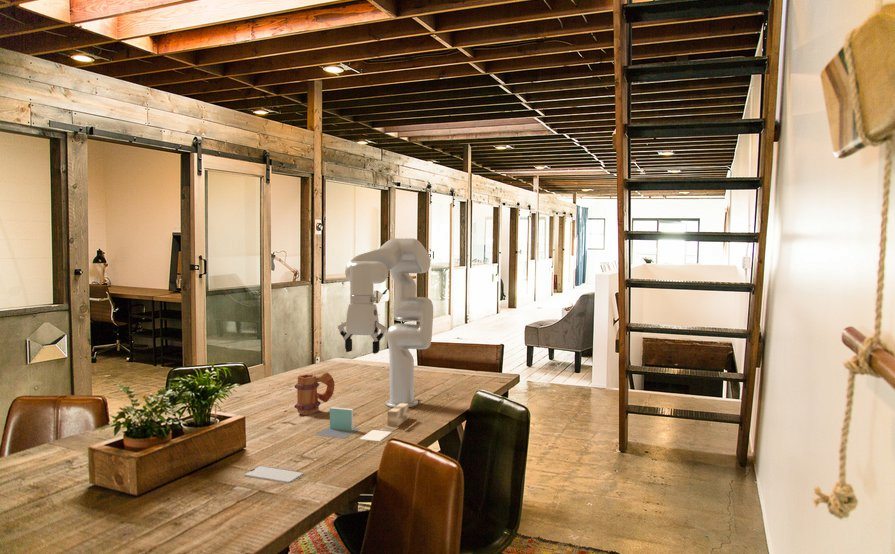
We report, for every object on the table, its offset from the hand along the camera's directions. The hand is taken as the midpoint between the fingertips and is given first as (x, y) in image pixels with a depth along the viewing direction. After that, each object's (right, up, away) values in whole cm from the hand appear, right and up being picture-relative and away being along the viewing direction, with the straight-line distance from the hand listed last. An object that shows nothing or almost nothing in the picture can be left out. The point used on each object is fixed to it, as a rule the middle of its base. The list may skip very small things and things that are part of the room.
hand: (362, 352), depth 200 cm
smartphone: (-19, -30, -34) cm, 49 cm away
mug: (-22, -26, +27) cm, 43 cm away
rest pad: (+5, -27, -2) cm, 28 cm away
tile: (-8, -27, +5) cm, 28 cm away
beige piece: (+10, -27, +11) cm, 31 cm away
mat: (-8, -27, +3) cm, 29 cm away
